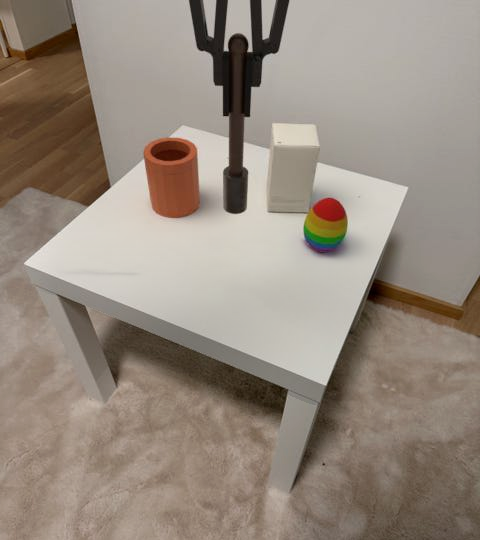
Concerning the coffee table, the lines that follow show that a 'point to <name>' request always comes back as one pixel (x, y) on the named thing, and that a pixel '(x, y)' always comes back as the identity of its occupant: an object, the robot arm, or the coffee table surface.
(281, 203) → the rectangular carton
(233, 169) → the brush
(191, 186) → the jar
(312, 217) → the decorative egg
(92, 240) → the coffee table surface
